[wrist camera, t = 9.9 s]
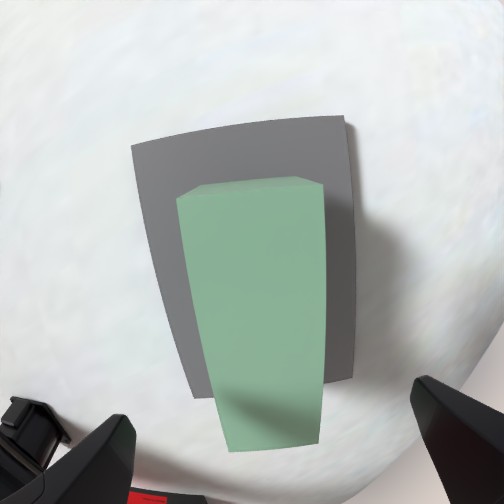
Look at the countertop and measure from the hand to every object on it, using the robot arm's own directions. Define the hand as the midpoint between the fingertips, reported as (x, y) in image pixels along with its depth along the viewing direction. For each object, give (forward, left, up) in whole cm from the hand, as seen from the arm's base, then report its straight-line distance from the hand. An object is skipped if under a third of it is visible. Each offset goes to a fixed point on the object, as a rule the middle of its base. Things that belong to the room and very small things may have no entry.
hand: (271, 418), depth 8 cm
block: (0, 0, -8) cm, 8 cm away
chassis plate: (0, 0, -11) cm, 11 cm away
